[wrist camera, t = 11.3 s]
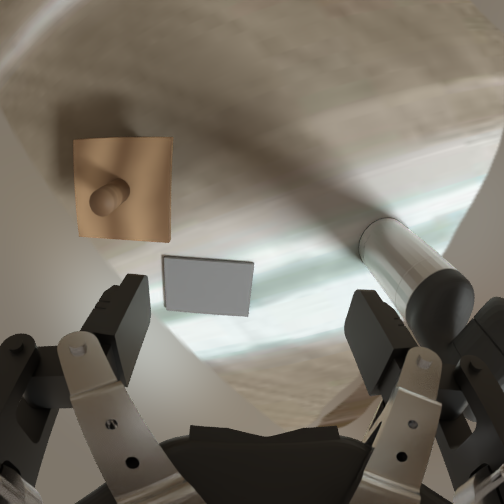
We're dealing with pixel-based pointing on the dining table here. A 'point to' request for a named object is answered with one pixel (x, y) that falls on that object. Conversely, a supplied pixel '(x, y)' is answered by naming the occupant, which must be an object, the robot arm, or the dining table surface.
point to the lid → (124, 187)
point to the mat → (208, 286)
